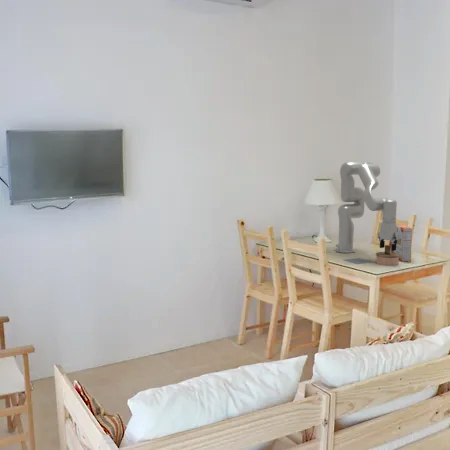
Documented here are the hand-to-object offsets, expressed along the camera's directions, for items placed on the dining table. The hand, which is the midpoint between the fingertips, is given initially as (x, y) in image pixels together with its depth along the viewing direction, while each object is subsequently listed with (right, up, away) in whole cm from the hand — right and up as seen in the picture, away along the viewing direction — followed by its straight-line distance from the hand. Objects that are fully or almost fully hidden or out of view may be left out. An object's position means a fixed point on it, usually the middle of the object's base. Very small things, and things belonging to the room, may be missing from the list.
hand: (387, 249), depth 323 cm
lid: (0, -4, +1) cm, 4 cm away
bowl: (0, -9, +1) cm, 9 cm away
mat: (-16, -8, +7) cm, 19 cm away
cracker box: (+13, -7, +14) cm, 21 cm away
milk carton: (+13, -5, +26) cm, 30 cm away
